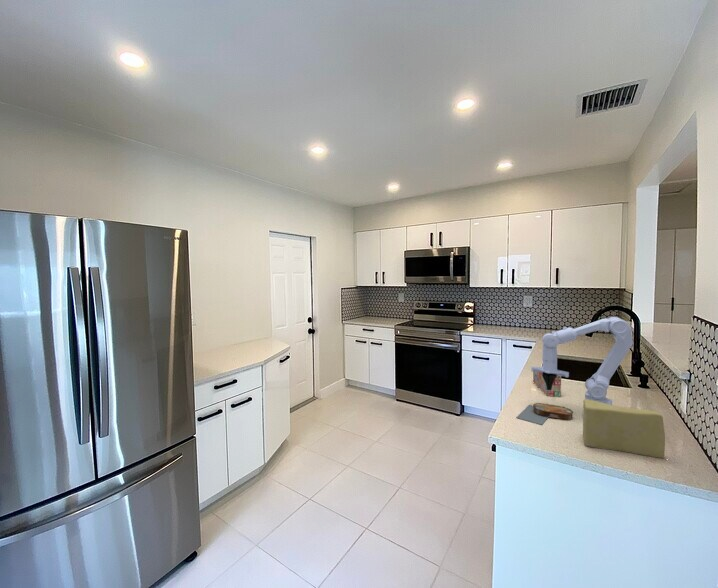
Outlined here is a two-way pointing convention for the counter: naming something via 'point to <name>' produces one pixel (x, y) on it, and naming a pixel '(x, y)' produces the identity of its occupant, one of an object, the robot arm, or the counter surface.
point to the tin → (552, 411)
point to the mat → (531, 416)
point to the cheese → (623, 429)
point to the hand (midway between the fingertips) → (549, 389)
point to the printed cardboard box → (542, 385)
